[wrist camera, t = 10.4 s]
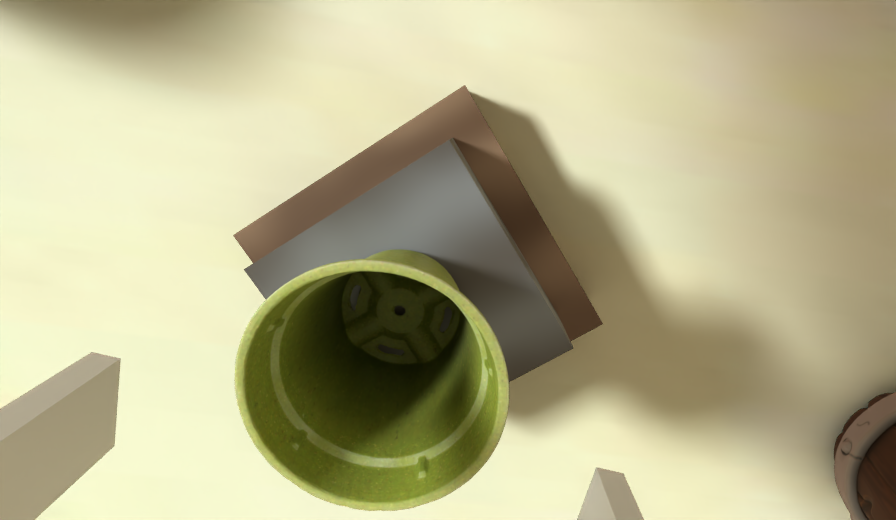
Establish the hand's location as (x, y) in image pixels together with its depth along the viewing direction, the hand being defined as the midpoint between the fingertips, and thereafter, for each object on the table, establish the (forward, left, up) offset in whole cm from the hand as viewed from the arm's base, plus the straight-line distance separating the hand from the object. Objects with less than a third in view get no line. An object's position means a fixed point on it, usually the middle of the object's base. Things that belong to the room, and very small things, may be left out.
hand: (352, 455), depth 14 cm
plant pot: (0, 0, -12) cm, 12 cm away
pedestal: (0, 0, -21) cm, 21 cm away
